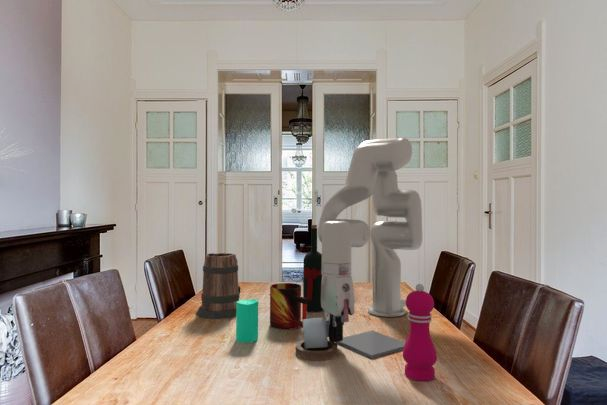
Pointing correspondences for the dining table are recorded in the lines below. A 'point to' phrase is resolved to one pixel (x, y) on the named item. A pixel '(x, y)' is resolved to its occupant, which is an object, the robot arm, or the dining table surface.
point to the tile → (372, 344)
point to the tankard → (219, 287)
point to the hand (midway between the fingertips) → (335, 340)
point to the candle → (247, 320)
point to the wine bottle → (313, 275)
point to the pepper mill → (419, 337)
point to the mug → (287, 306)
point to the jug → (315, 332)
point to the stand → (316, 352)
